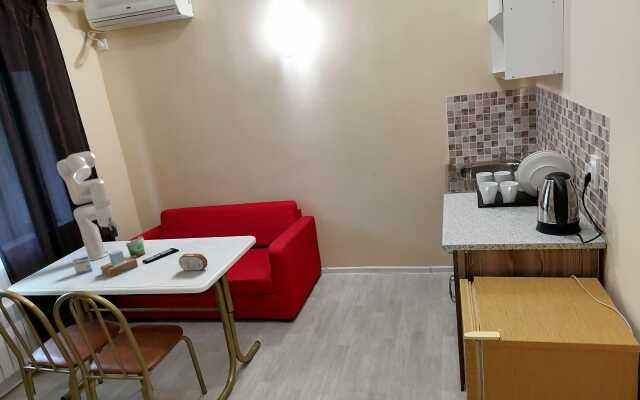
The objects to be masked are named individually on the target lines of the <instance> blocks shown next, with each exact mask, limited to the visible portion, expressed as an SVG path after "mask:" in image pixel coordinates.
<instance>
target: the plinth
mask: <svg viewBox="0 0 640 400" xmlns="http://www.w3.org/2000/svg"><path fill="white" fill-rule="evenodd" d="M124 260H125V262H123V263H120V264H118V265H113V264H111V262H110V263H107V264H104V265H102V266H100V271H101V273H102V275H106V276H107V277H112V278H114V277H117V276H119V275H121V274H123V273H127V272H130V271H131V270H134V269H136V268H138V267H139V264H138V261H137V258H135V259H132V258H131V257H127V256H125V257H124Z"/></svg>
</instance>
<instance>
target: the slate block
mask: <svg viewBox="0 0 640 400" xmlns="http://www.w3.org/2000/svg"><path fill="white" fill-rule="evenodd" d="M108 257H109V260H110V263H111V264H113V265H118V264H120V263H123V262H125V260H124V252H123V251H122V250H121V249H120V250H119V249H117V250H114V251H111V252H108Z"/></svg>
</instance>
